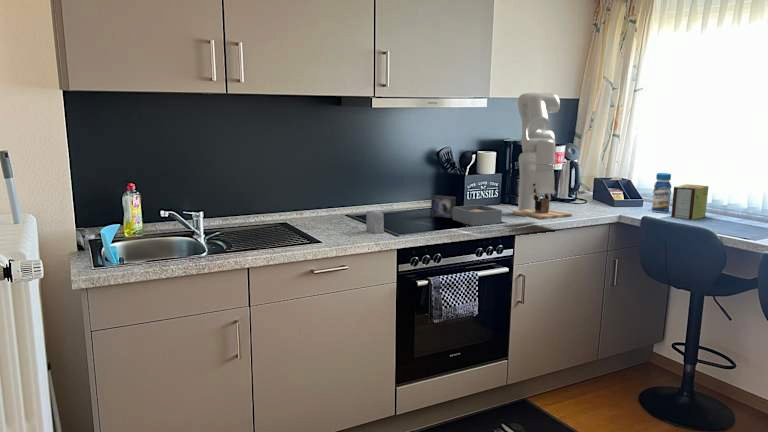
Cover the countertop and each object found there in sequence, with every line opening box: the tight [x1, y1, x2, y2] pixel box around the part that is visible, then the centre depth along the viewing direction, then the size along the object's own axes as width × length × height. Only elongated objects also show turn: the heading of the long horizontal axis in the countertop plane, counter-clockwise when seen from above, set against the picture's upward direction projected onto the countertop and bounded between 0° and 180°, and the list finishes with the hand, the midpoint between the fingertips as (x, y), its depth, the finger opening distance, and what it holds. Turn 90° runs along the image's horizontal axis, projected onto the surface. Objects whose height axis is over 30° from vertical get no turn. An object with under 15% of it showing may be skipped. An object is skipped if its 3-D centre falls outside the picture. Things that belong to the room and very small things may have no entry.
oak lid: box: [512, 197, 573, 221], centre depth 256 cm, size 18×18×7 cm
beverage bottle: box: [651, 172, 672, 214], centre depth 301 cm, size 8×8×20 cm
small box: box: [430, 194, 457, 219], centre depth 281 cm, size 11×6×10 cm, turn 62°
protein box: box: [670, 183, 710, 221], centre depth 287 cm, size 10×15×16 cm
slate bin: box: [452, 204, 503, 227], centre depth 268 cm, size 16×16×7 cm
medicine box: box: [365, 210, 385, 235], centre depth 248 cm, size 8×4×9 cm, turn 30°
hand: (541, 208), depth 256 cm, fingers closed on oak lid, 4 cm apart
